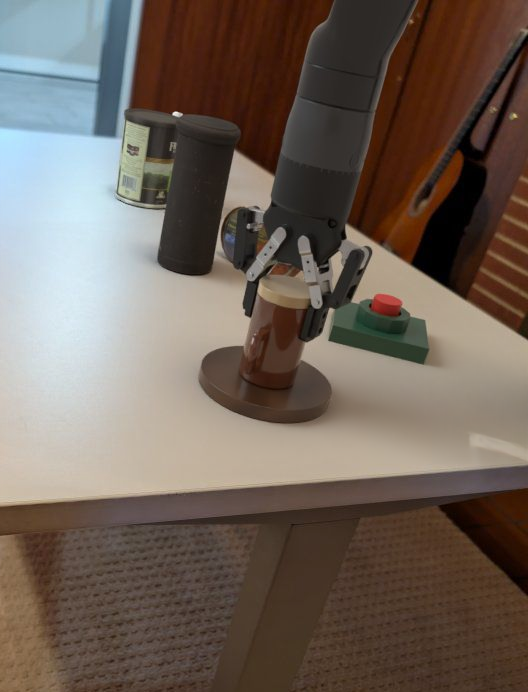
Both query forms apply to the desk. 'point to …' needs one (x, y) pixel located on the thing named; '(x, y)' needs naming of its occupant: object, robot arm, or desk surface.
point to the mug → (275, 332)
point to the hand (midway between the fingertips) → (279, 326)
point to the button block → (380, 331)
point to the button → (386, 305)
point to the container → (196, 193)
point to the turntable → (263, 390)
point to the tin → (229, 240)
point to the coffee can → (146, 158)
